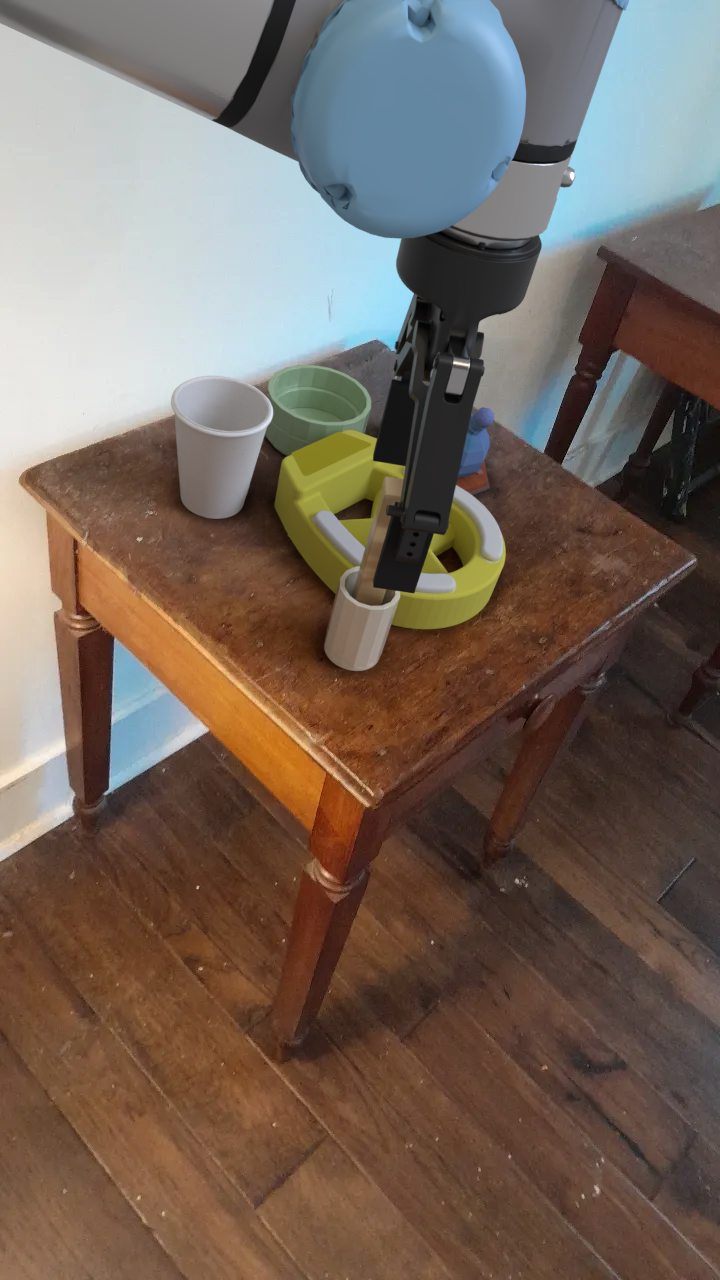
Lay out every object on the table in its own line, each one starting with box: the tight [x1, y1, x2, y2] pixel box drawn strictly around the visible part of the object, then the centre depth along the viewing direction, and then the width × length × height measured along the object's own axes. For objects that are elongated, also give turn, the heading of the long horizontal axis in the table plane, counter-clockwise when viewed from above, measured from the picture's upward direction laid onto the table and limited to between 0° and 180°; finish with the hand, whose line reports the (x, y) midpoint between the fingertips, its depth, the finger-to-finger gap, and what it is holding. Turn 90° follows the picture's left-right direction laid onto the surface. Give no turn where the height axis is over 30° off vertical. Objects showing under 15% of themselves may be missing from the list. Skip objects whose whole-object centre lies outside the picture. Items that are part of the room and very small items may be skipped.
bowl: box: [264, 364, 372, 457], centre depth 92 cm, size 10×10×5 cm
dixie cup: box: [170, 375, 273, 520], centre depth 81 cm, size 8×8×10 cm
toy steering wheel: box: [274, 430, 507, 630], centre depth 83 cm, size 16×21×5 cm
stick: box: [352, 476, 403, 606], centre depth 69 cm, size 2×2×16 cm
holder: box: [323, 566, 400, 672], centre depth 73 cm, size 5×5×7 cm
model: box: [456, 406, 495, 496], centre depth 92 cm, size 12×9×9 cm
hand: (391, 519), depth 66 cm, fingers open, 13 cm apart
